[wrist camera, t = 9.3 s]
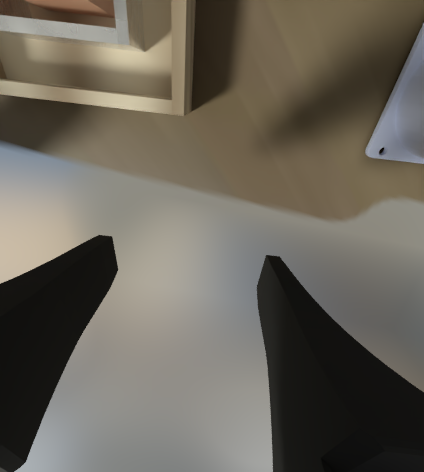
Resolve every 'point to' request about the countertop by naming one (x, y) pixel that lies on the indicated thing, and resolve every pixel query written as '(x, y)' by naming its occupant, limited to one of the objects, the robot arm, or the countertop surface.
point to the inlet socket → (77, 26)
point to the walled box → (107, 63)
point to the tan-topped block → (78, 6)
